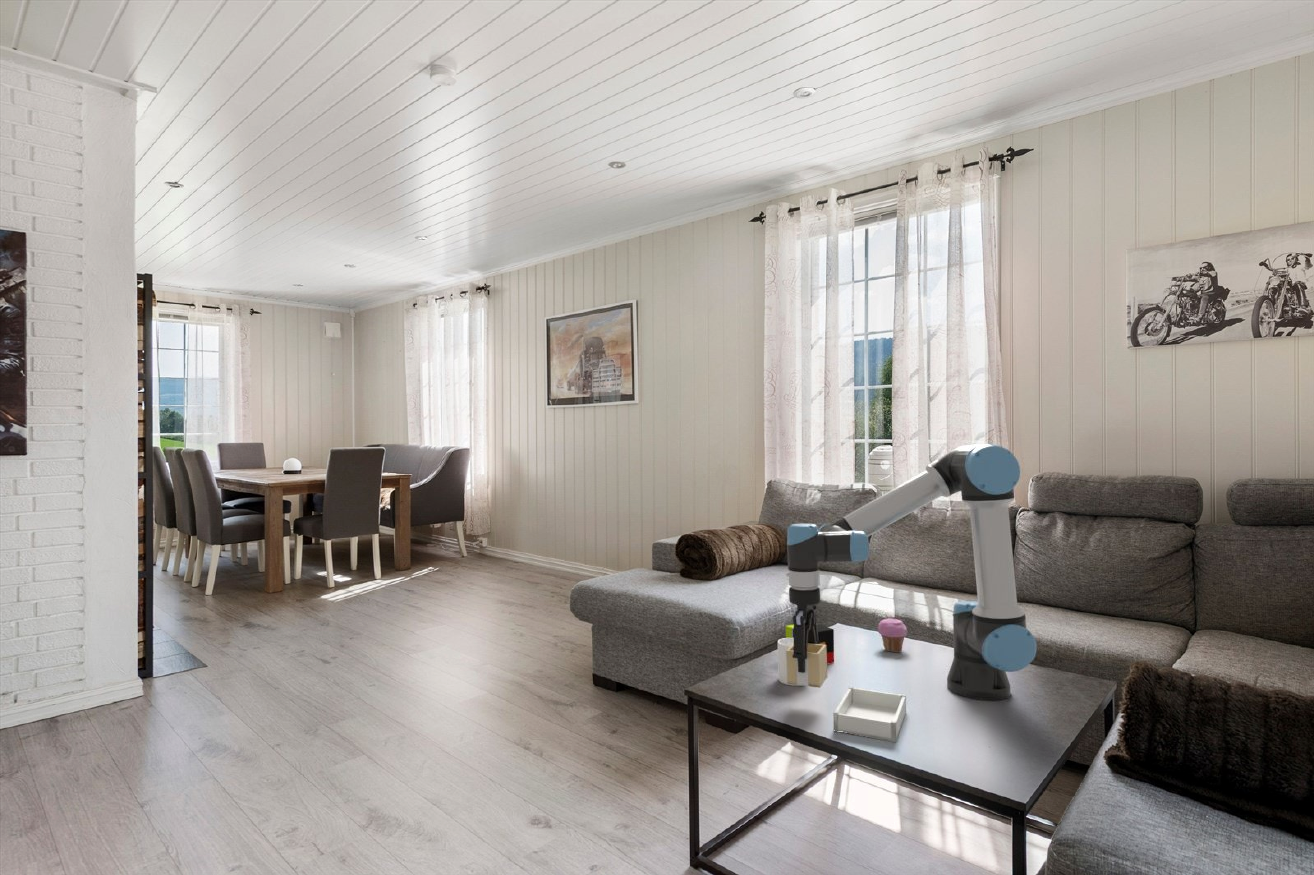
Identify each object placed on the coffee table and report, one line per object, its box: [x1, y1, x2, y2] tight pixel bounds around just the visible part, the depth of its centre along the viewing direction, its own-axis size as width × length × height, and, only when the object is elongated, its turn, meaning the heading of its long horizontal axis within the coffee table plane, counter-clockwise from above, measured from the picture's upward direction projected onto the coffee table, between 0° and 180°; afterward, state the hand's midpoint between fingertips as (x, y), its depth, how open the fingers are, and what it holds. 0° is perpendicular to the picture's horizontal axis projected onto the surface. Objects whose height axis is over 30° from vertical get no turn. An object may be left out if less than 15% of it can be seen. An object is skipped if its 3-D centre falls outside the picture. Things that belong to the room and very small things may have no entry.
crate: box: [833, 686, 907, 743], centre depth 161 cm, size 13×19×4 cm
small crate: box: [786, 643, 828, 688], centre depth 170 cm, size 8×8×8 cm
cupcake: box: [877, 618, 908, 653], centre depth 216 cm, size 9×9×10 cm
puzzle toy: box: [785, 623, 835, 665], centre depth 206 cm, size 10×10×10 cm
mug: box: [777, 637, 803, 687], centre depth 189 cm, size 9×12×11 cm
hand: (807, 679), depth 170 cm, fingers closed on small crate, 8 cm apart
